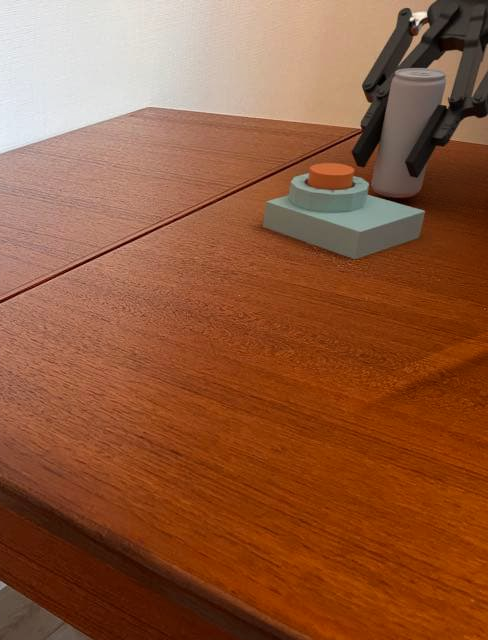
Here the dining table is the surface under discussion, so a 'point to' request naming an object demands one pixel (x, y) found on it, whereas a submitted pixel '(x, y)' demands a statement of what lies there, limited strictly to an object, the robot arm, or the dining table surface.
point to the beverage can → (405, 129)
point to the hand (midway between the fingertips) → (384, 164)
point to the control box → (342, 218)
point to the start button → (330, 176)
